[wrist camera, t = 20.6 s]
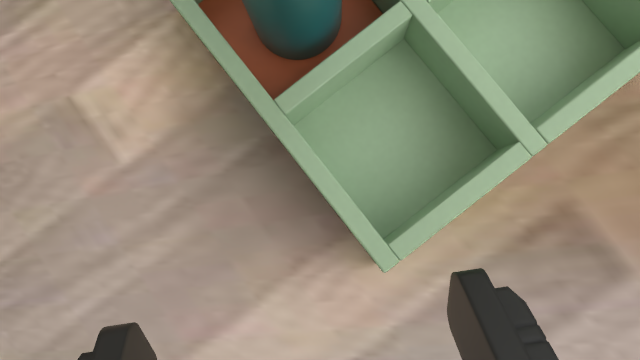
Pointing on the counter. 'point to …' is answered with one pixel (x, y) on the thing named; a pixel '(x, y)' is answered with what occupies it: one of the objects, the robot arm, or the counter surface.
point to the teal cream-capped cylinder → (295, 25)
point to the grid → (425, 98)
